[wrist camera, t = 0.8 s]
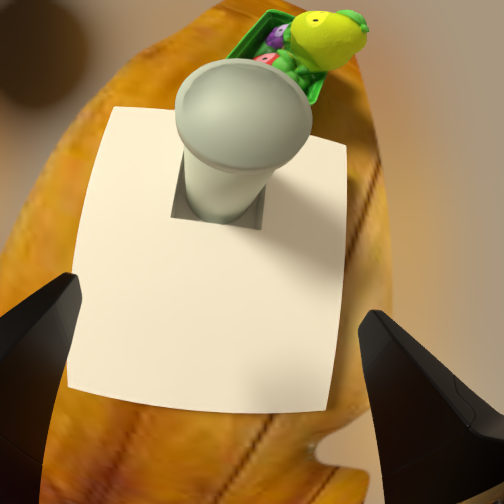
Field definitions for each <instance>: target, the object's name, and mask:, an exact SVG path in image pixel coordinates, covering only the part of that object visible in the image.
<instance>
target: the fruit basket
mask: <svg viewBox="0 0 504 504" xmlns="http://www.w3.org/2000/svg"><path fill="white" fill-rule="evenodd" d="M367 32H369V28H368V27H367V24H366V21H365V19H364V18H363V16H362V15H360V14H359V13H356V12H354V11H352V10H341V11H337V12H336V13H330V12H326V11H308V12H304V13H302V14H300V15H299V16H297V17H294V16H292V15H290V14H288V13H285V12H281V11H278V10H274V9H271V10H267V11H266V12H265V14H264V15H263V16H262V17H261V18H260V19H259V20H258V21H257V23H256V24H255V25H254V26H253V27H252V28H251V29H250V30H249V31H248V33H247V34H246V35H245V36H244V37H243V38H242V40H241V41H240V42H239V43H238V44H237V46H236V47H235V48H234V49H233V50H232V52H231V53H230V54H229V55H228V56H227V58H226V59H234V58H239V59H250V60H255V61H259V62H263V63H266V64H268V65H271V66H273V67H275V68H277V69H279V70H281V71H282V72H284V73H285V74H287V75H288V76H289V77H290V78H292V79H293V80H294V81H295V82H296V83H297V84H298V85H299V86H300V88H301V89H302V90H303V92H304V93H305V95H306V97H307V99H308V101H309V104H310V106H311V105H313V104H314V103H315V102H316V101H317V98H318V96H319V93H320V90H321V88H322V85H323V83H324V80H325V78H326V76H327V73H328V71H330V70H335V69H337V68H340V67H342V66H343V65H345V64H346V63H347V62H348V61H349V60H350V59H351V57H352V56H353V55H354V54H355V53H357V52H358V51H360V50H361V49H363V48H364V46H365V44H366V41H367V34H366V33H367Z"/></svg>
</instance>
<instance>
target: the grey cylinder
mask: <svg viewBox="0 0 504 504" xmlns="http://www.w3.org/2000/svg"><path fill="white" fill-rule="evenodd" d="M175 120H176V127H177V131H178V134H179V136H180V138H181V140H182V142H183V144H184V165H185V184H186V198H187V202H188V205H189V207H190V209H191V210H192V212H193V213H194V214H195V215H196V216H197V217H198V218H199V219H201V220H203V221H205V222H207V223H214V224H221V225H223V224H228V223H231V222H234V221H236V220H237V219H239V218H240V217H241V216H242V215H243V214H244V213H245V212H246V210H247V209H248V208H249V206H250V205H251V203H252V202H253V201H254V199H255V198H256V196H257V195H258V194H259V192H260V191H261V189H262V188H263V187H264V185H265V184H266V183H267V181H268V180H269V178H270V177H271V176H272V174H273V173H274V172H275V170H276V169H279V168H280V167H282V166H284V165H285V164H287V163H288V162H289V161H291V160H292V159H293V158H294V156H295V155H296V154H297V153H298V152H299V151H300V149H301V148H302V147H303V146H304V144H305V143H306V141H307V140H308V137H309V135H310V133H311V129H312V120H313V119H312V111H311V106H310V104H309V101H308V99H307V97H306V95H305V93H304V92H303V90H302V89H301V88H300V86H299V85H298V84H297V83H296V82H295V81H294V80H293V79H292V78H290V77H289V76H288V75H287V74H285V73H284V72H282V71H281V70H279V69H277V68H275V67H273V66H271V65H268V64H266V63H263V62H259V61H255V60H250V59H239V58H234V59H224V60H218V61H215V62H211V63H209V64H206V65H204V66H202V67H200V68H199V69H197V70H196V71H194V72H193V73H192V74H191V75H189V76H188V77H187V78H186V80H185V81H184V82H183V83H182V85H181V87H180V88H179V91H178V93H177V96H176V101H175Z"/></svg>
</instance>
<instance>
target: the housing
mask: <svg viewBox="0 0 504 504" xmlns="http://www.w3.org/2000/svg"><path fill="white" fill-rule="evenodd" d="M346 217H347V155H346V145H343V144H340V143H337V142H333V141H330V140H326V139H323V138H319V137H315V136H312V135H309V137H308V140H307V141H306V143H305V144H304V146H303V147H302V148H301V149H300V151H299V152H298V153H297V154H296V155H295V156H294V158H293V159H292V160H291V161H289V162H288V163H287V164H285V165H284V166H282V167H280V168H279V169H276V170H275V172H274V173H273V174H272V176H271V177H270V178H269V180H268V181H267V183H266V184H265V185H264V187H263V188H262V189H261V191H260V192H259V194H258V195H257V196H256V198H255V199H254V201H253V202H252V203H251V205H250V206H249V208H248V209H247V210H246V212H245V213H244V214H243V215H242V216H241V217H240V218H239V219H237V220H236V221H234V222H231V223H228V224H223V225H221V224H214V223H207V222H205V221H203V220H201V219H199V218H198V217H197V216H196V215H195V214H194V213H193V212H192V210H191V209H190V207H189V205H188V202H187V198H186V184H185V165H184V144H183V142H182V140H181V138H180V136H179V134H178V131H177V127H176V120H175V110H164V109H152V108H136V107H114V108H113V111H112V113H111V116H110V118H109V121H108V124H107V127H106V129H105V132H104V135H103V138H102V141H101V144H100V147H99V150H98V153H97V157H96V160H95V163H94V167H93V170H92V174H91V177H90V181H89V185H88V189H87V193H86V197H85V201H84V205H83V210H82V215H81V219H80V224H79V230H78V235H77V241H76V247H75V253H74V260H73V267H72V273H74V274H76V275H78V278H79V282H80V287H81V292H82V304H81V308H80V312H79V315H78V319H77V323H76V327H75V332H74V336H73V340H72V344H71V348H70V351H69V354H68V358H67V375H68V387H71V388H74V389H78V390H81V391H85V392H89V393H93V394H97V395H102V396H106V397H110V398H115V399H120V400H125V401H130V402H136V403H142V404H148V405H154V406H161V407H169V408H177V409H186V410H196V411H209V412H226V413H294V412H311V411H323V410H326V405H327V400H328V395H329V389H330V383H331V377H332V371H333V365H334V358H335V351H336V343H337V336H338V328H339V319H340V310H341V299H342V288H343V276H344V261H345V244H346Z"/></svg>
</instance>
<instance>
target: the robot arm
mask: <svg viewBox="0 0 504 504" xmlns="http://www.w3.org/2000/svg"><path fill="white" fill-rule="evenodd" d="M81 304H82V292H81V287H80V282H79V278H78V275H76V274H74V273H68V272H65V273H63V274H61V275H60V276H58V277H57V278H55V279H54V280H52V281H51V282H49V283H48V284H46V285H45V286H43V287H42V288H40V289H39V290H37V291H36V292H34V293H33V294H32V295H30V296H29V297H27V298H26V299H25V300H23V301H22V302H20V303H19V304H18V305H16V306H15V307H13V308H12V309H11V310H9V311H8V312H7V313H5V314H4V315H3V316H1V317H0V504H39V493H40V482H41V473H42V464H43V458H44V451H45V445H46V440H47V435H48V430H49V425H50V420H51V416H52V411H53V407H54V403H55V399H56V395H57V391H58V388H59V384H60V381H61V377H62V374H63V370H64V367H65V364H66V361H67V358H68V354H69V351H70V348H71V344H72V340H73V336H74V332H75V327H76V323H77V319H78V315H79V312H80V308H81ZM358 337H359V344H360V352H361V359H362V367H363V373H364V378H365V383H366V388H367V392H368V397H369V402H370V407H371V412H372V417H373V422H374V428H375V434H376V440H377V446H378V452H379V459H380V465H381V473H382V482H383V490H384V499H385V504H504V415H502V414H500V413H498V412H497V411H496V410H495V409H494V408H492V407H491V406H490V405H489V404H488V403H486V402H485V401H484V400H483V399H481V398H480V397H479V396H478V395H476V394H475V393H474V392H473V391H472V390H471V389H469V388H468V387H467V386H466V385H465V384H464V383H463V382H462V381H461V380H459V379H458V378H457V377H456V376H455V375H454V374H453V373H452V372H451V371H450V370H449V369H448V368H447V367H445V366H444V365H443V364H442V363H441V362H440V361H439V360H437V358H435V357H434V356H433V355H432V354H431V353H430V352H429V351H428V350H427V349H425V348H424V347H423V346H422V345H421V344H420V343H419V342H417V341H416V340H415V339H414V338H413V337H412V336H411V335H410V334H408V333H407V332H406V331H405V330H404V329H403V328H402V327H400V326H399V325H398V324H397V323H396V322H395V321H393V320H392V319H391V318H390V317H389V316H388V315H386V314H385V313H384V312H383V311H381V310H370V311H369V312H368V313H367V315H366V316H365V318H364V319H363V321H362V322H361V324H360V326H359V328H358Z"/></svg>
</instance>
